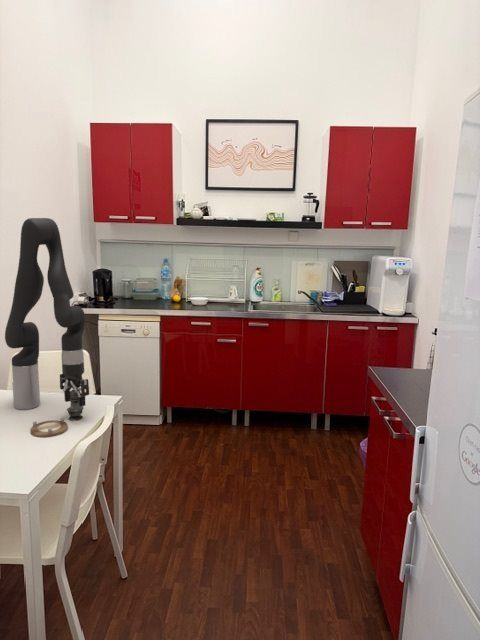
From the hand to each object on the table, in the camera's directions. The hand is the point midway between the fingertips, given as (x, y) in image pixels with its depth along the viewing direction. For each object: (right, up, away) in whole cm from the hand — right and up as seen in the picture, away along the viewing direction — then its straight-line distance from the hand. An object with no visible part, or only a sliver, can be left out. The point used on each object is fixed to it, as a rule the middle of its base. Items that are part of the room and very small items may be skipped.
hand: (75, 403), depth 167 cm
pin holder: (-5, -7, -9) cm, 13 cm away
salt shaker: (0, -6, +2) cm, 6 cm away
